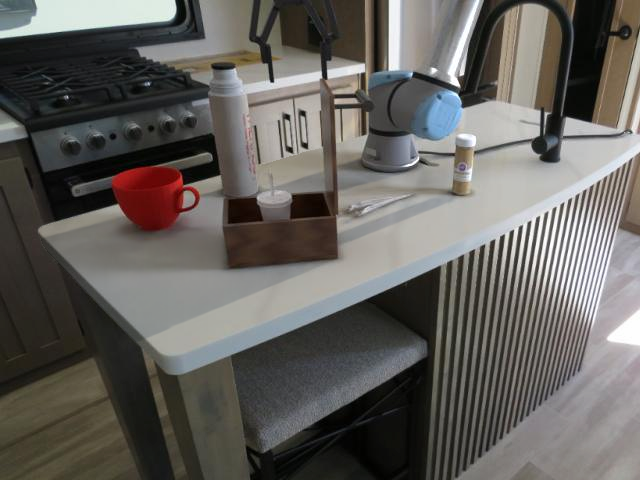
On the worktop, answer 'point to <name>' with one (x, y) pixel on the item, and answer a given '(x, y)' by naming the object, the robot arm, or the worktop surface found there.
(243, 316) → the worktop surface
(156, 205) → the ceramic cup
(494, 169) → the worktop surface
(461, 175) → the sprinkles bottle
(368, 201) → the tweezers
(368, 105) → the wooden panel
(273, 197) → the smoothie
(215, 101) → the thermos bottle
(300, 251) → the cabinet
